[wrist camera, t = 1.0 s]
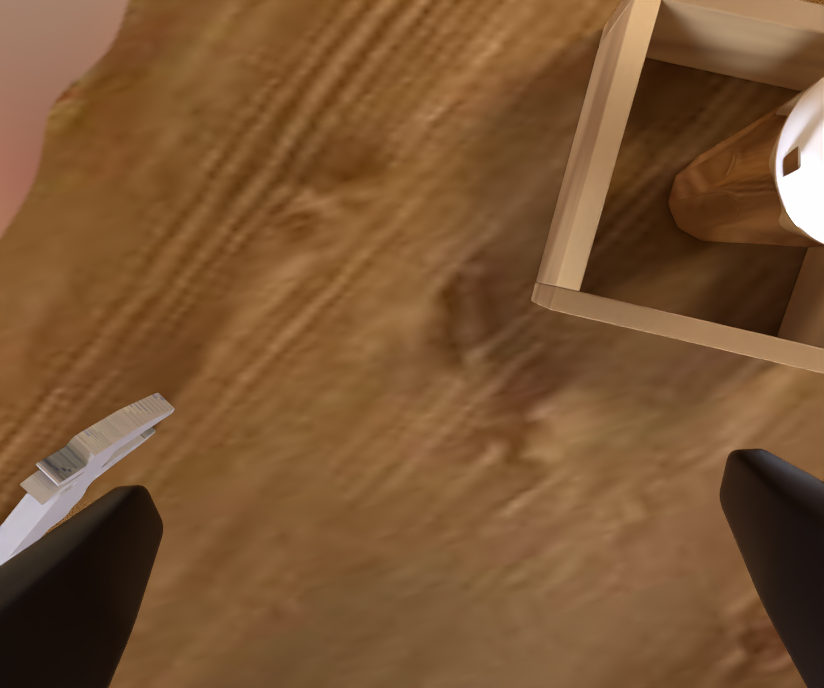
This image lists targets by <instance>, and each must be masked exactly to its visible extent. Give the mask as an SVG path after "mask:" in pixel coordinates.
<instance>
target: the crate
mask: <svg viewBox="0 0 824 688" xmlns="http://www.w3.org/2000/svg"><path fill="white" fill-rule="evenodd" d="M645 58H650V59H654V60H659V61H664V62H668V63H673V64H677V65H682V66H687V67H691V68H696V69H701V70H705V71H710V72H714V73H719V74H724V75H728V76H733V77H737V78H742V79H747V80H751V81H756V82H760V83H765V84H770V85H774V86H779V87H784V88H788V89H793V90H797V91H803V90H805V89H806V88H808V87H809V86H811V85H812V84H814V83H815V82H817V81H818V80H820V79H821V78H823V77H824V4H819V3H814V2H809V1H805V0H621V2H620V3H619V5H618V6H617V8H616V9H615V11H614V13H613V14H612V16H611V17H610V19H609V20H608V22H607V23H606V25H605V26H604V29H603V33H602V36H601V40H600V44H599V48H598V51H597V55H596V58H595V62H594V66H593V70H592V73H591V77H590V81H589V85H588V88H587V92H586V96H585V100H584V103H583V107H582V111H581V115H580V118H579V122H578V126H577V130H576V133H575V137H574V141H573V145H572V148H571V152H570V156H569V160H568V163H567V167H566V171H565V174H564V178H563V182H562V186H561V189H560V193H559V197H558V201H557V204H556V208H555V212H554V216H553V219H552V223H551V227H550V231H549V234H548V238H547V242H546V246H545V249H544V253H543V257H542V261H541V264H540V268H539V272H538V276H537V279H536V283H535V287H534V291H533V294H532V298H531V301H532V302H534V303H536V304H539V305H541V306H543V307H545V308H548V309H550V310H553V311H558V312H562V313H566V314H571V315H575V316H579V317H583V318H588V319H592V320H596V321H601V322H605V323H609V324H613V325H618V326H622V327H626V328H631V329H635V330H639V331H643V332H648V333H652V334H656V335H661V336H665V337H669V338H673V339H678V340H682V341H686V342H691V343H695V344H699V345H703V346H708V347H712V348H716V349H721V350H725V351H729V352H733V353H738V354H742V355H746V356H751V357H755V358H759V359H763V360H768V361H772V362H776V363H781V364H785V365H789V366H793V367H798V368H802V369H806V370H810V371H815V372H819V373H823V374H824V249H819V248H809V247H808V249H807V252H806V255H805V258H804V261H803V263H802V266H801V269H800V272H799V275H798V278H797V281H796V283H795V286H794V289H793V292H792V295H791V298H790V301H789V303H788V306H787V309H786V312H785V315H784V318H783V321H782V323H781V326H780V329H779V332H778V335H777V337H773V336H769V335H765V334H760V333H756V332H752V331H748V330H743V329H739V328H735V327H730V326H726V325H722V324H717V323H713V322H709V321H704V320H700V319H696V318H691V317H687V316H683V315H679V314H674V313H670V312H666V311H661V310H657V309H653V308H648V307H644V306H640V305H635V304H631V303H627V302H622V301H618V300H614V299H610V298H605V297H601V296H597V295H592V294H588V293H584V292H579V290H580V287H581V284H582V280H583V276H584V273H585V269H586V266H587V262H588V259H589V255H590V252H591V248H592V245H593V241H594V237H595V234H596V230H597V227H598V223H599V220H600V216H601V213H602V209H603V205H604V202H605V198H606V195H607V191H608V188H609V184H610V181H611V177H612V174H613V170H614V166H615V163H616V159H617V156H618V152H619V149H620V145H621V142H622V138H623V134H624V131H625V127H626V124H627V120H628V117H629V113H630V110H631V106H632V103H633V99H634V95H635V92H636V88H637V85H638V81H639V78H640V74H641V71H642V67H643V63H644V60H645Z"/></svg>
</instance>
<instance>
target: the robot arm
mask: <svg viewBox="0 0 824 688" xmlns="http://www.w3.org/2000/svg"><path fill="white" fill-rule="evenodd" d="M720 502H721V506H722V509H723V511H724V514H725V516H726V518H727V521H728V523H729V526H730V528H731V530H732V533H733V535H734V538H735V540H736V542H737V545H738V547H739V549H740V552H741V554H742V557H743V559H744V561H745V564H746V566H747V569H748V571H749V573H750V576H751V578H752V581H753V583H754V585H755V588H756V590H757V592H758V595H759V597H760V599H761V601H762V603H763V606H764V608H765V610H766V612H767V614H768V616H769V618H770V619H771V621H772V623H773V625H774V627H775V629H776V631H777V633H778V634H779V636H780V638H781V640H782V642H783V644H784V645H785V647H786V649H787V651H788V653H789V655H790V656H791V658H792V660H793V662H794V664H795V666H796V668H797V669H798V671H799V673H800V675H801V677H802V679H803V680H804V682H805V684H806V686H807V688H824V482H823V481H821V480H820V479H818V478H816V477H814V476H812V475H810V474H809V473H807V472H805V471H803V470H801V469H799V468H798V467H796V466H794V465H792V464H790V463H788V462H786V461H785V460H783V459H781V458H779V457H777V456H775V455H774V454H772V453H770V452H768V451H766V450H763V449H742V450H734V451H732V452H731V453H730V454H729V456H728V458H727V462H726V466H725V471H724V475H723V479H722V483H721V488H720ZM162 534H163V523H162V519H161V517H160V515H159V513H158V511H157V509H156V506H155V504H154V502H153V500H152V498H151V496H150V494H149V492H148V490H147V489H146V488H145V487H144V486H140V485H133V486H120V487H116V488H114V489H112V490H111V491H109V492H108V493H106V494H105V495H104V496H102V497H101V498H99V499H98V500H96V501H95V502H93V503H92V504H90V505H89V506H87V507H86V508H84V509H83V510H81V511H80V512H79V513H77V514H76V515H74V516H73V517H71V518H70V519H68V520H67V521H65V522H64V523H62V524H61V525H59V526H58V527H56V528H55V529H53V530H52V531H51V532H49V533H48V534H46V535H45V536H43V537H42V538H40V539H39V540H37V541H36V542H34V543H33V544H31V545H30V546H28V547H27V548H25V549H24V550H23V551H21V552H20V553H18V554H17V555H15V556H14V557H12V558H11V559H9V560H8V561H6V562H5V563H3V564H2V565H0V688H108V687H109V685H110V682H111V680H112V678H113V675H114V673H115V671H116V668H117V666H118V663H119V661H120V659H121V656H122V654H123V652H124V649H125V647H126V644H127V642H128V639H129V637H130V634H131V632H132V629H133V626H134V623H135V620H136V618H137V615H138V612H139V608H140V605H141V602H142V599H143V596H144V592H145V589H146V586H147V583H148V580H149V577H150V573H151V570H152V567H153V564H154V561H155V557H156V554H157V551H158V548H159V545H160V542H161V538H162Z"/></svg>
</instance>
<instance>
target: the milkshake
mask: <svg viewBox="0 0 824 688" xmlns="http://www.w3.org/2000/svg"><path fill="white" fill-rule="evenodd" d="M668 205H669V207H670V210H671V212H672V215H673V217H674V220H675V222H676V225H677V227H678V228H679V229H681V230H683V231H685V232H686V233H688V234H690V235H692V236H694V237H695V238H697V239H699V240H702V241H718V242H737V243H756V244H775V245H788V246H799V247H809V248H819V249H824V77H823V78H821V79H820V80H818V81H817V82H815V83H814V84H812V85H811V86H809V87H808V88H806V89H805V90H803V91H802V92H800V93H799V94H797V95H796V96H794V97H793V98H791V99H790V100H788V101H787V102H785V103H784V104H782V105H781V106H779V107H778V108H776V109H775V110H773V111H772V112H770V113H769V114H767V115H766V116H764V117H762V118H761V119H759V120H757V121H756V122H754V123H752V124H751V125H749V126H747V127H746V128H744V129H742V130H741V131H739V132H738V133H736V134H734V135H733V136H731V137H729V138H728V139H726V140H724V141H723V142H721V143H719V144H718V145H716V146H714V147H713V148H711V149H709V150H708V151H706V152H705V153H703V154H701V155H700V156H698V157H697V158H696V159H694V160H693V161H692V162H691V163H690V164H689V165H688V166H687V167H686V168H684V169H683V170H682V171H681V172H680V173H679V174H678V175H676V176H675V179H674V183H673V186H672V190H671V194H670V198H669V201H668Z"/></svg>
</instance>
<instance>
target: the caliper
mask: <svg viewBox="0 0 824 688" xmlns="http://www.w3.org/2000/svg"><path fill="white" fill-rule="evenodd" d="M173 411H174V408H173V407H172V406H171V405H170V404H169V403H168V402H167V401H166V400H165V399H164V398H163V397H162V396H161V395H160V394H159V393H155V394H153V395H151V396H148V397H146V398H144V399H142V400H140V401H137V402H135V403H133V404H131V405H129V406H126V407H124V408H122V409H120V410H118V411H116V412H114V413H113V414H111V415H109V416H108V417H106V418H104V419H103V420H101V421H99V422H97V423H96V424H94V425H92V426H91V427H89V428H87V429H85V430H84V431H82V432H80V433H79V434H77V435H75V436H74V437H73V438H72V439H71V440H70V442H69V443H68V444H67V445H66V446H65V447H64V448H62V449H60V450H58V451H57V452H55V453H53V454H52V455H50V456H48V457H46V458H45V459H43V460H41V461H39V462H38V463H36V466H38V467H39V468H40V469H39V470H38V471H37V472H35V473H34V474H33V475H31V476H30V477H29V478H27V479H26V480H24V481H23V482H22V483H21V484H20V485H21V486H22V487H23V488H24V489H25V490H26V491H27V493H26V495H25V496H24V497H23V499H22V500H21V501H20V502H19V504H18V505H17V506H16V507H15V509H14V510H13V511H12V512H11V514H10V515H9V516H8V517H7V519H6V520H5V521H4V523H3V524H2V525H1V526H0V565H2V564H3V563H5V562H6V561H8V560H9V559H11V558H12V557H14V556H15V555H17V554H18V553H20V552H21V551H23V550H24V549H25V548H27V547H28V546H30V545H31V544H33V543H34V542H36V541H37V540H39V539H40V538H41V537H42V536H43V535H44V534H45V533H46V531H47V530H48V529H49V528H51V527H52V526H53V525H55V524H56V523H57V522H59V521H60V520H61V519H63V518H64V517H65V516H66V515H67V514H68V513H69V511H70V510H71V508H72V507H73V506H74V505H75V504H76V503H77V502H78V501H79V500H80V499H81V498H82V497H83V495H84V493H85V492H86V490H87V487H88V486H89V485H90V484H91V483H92V481H93V480H95V479H96V478H97V477H99V476H100V475H101V474H102V473H104V472H105V471H106V470H108V469H109V468H110V467H112V466H113V465H114V464H116V463H117V462H118V461H119V460H121V459H122V458H123V457H125V456H126V455H127V454H129V453H130V452H131V451H133V450H134V449H135V448H137V447H138V446H139V445H140V444H142V443H143V442H144V441H146V440H147V439H148V438H149V437H150V436H151V435H153V434H154V433H155V432H156V430H155V429H154V428H153V427H152V426H153V425H155V424H156V423H158V422H159V421H161V420H163V419H164V418H166V417H167V416H169V415H170V414H172V412H173Z"/></svg>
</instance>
